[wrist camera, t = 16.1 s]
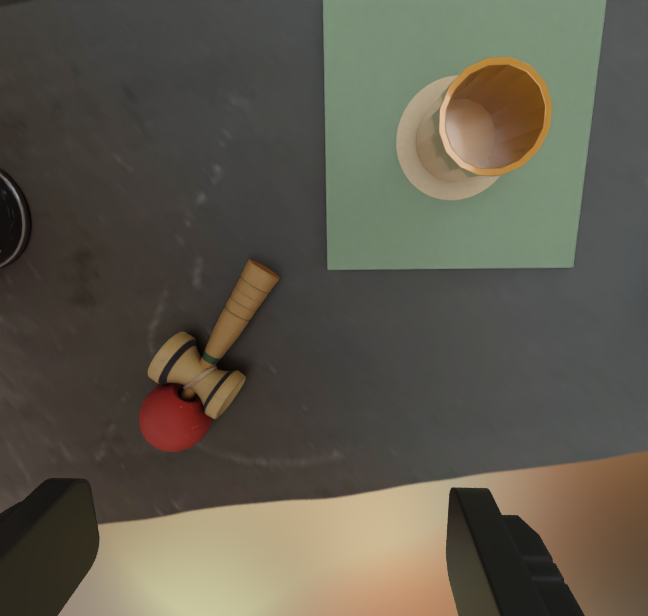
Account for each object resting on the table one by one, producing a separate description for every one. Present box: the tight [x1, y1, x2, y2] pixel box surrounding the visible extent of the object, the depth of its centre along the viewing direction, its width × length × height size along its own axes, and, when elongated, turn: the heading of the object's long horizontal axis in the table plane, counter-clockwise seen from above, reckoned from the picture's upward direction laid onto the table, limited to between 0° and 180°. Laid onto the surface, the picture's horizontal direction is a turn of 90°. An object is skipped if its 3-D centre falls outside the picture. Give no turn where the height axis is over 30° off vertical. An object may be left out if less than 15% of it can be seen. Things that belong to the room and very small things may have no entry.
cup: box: [416, 57, 552, 182], centre depth 28 cm, size 6×6×9 cm
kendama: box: [139, 260, 280, 452], centre depth 36 cm, size 8×6×18 cm
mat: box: [323, 0, 606, 270], centre depth 33 cm, size 20×20×1 cm
